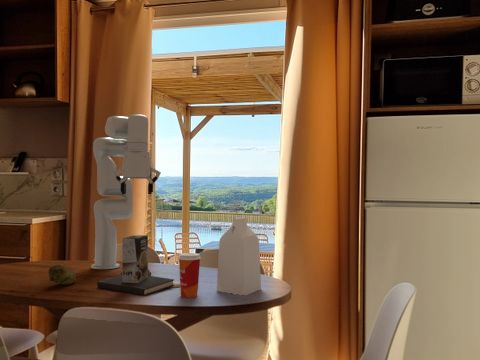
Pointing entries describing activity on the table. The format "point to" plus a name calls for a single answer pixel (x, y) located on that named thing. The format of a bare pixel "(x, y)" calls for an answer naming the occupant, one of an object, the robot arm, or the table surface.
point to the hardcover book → (136, 285)
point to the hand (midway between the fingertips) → (136, 194)
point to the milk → (239, 260)
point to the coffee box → (135, 258)
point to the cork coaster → (176, 285)
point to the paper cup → (189, 274)
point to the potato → (61, 274)
